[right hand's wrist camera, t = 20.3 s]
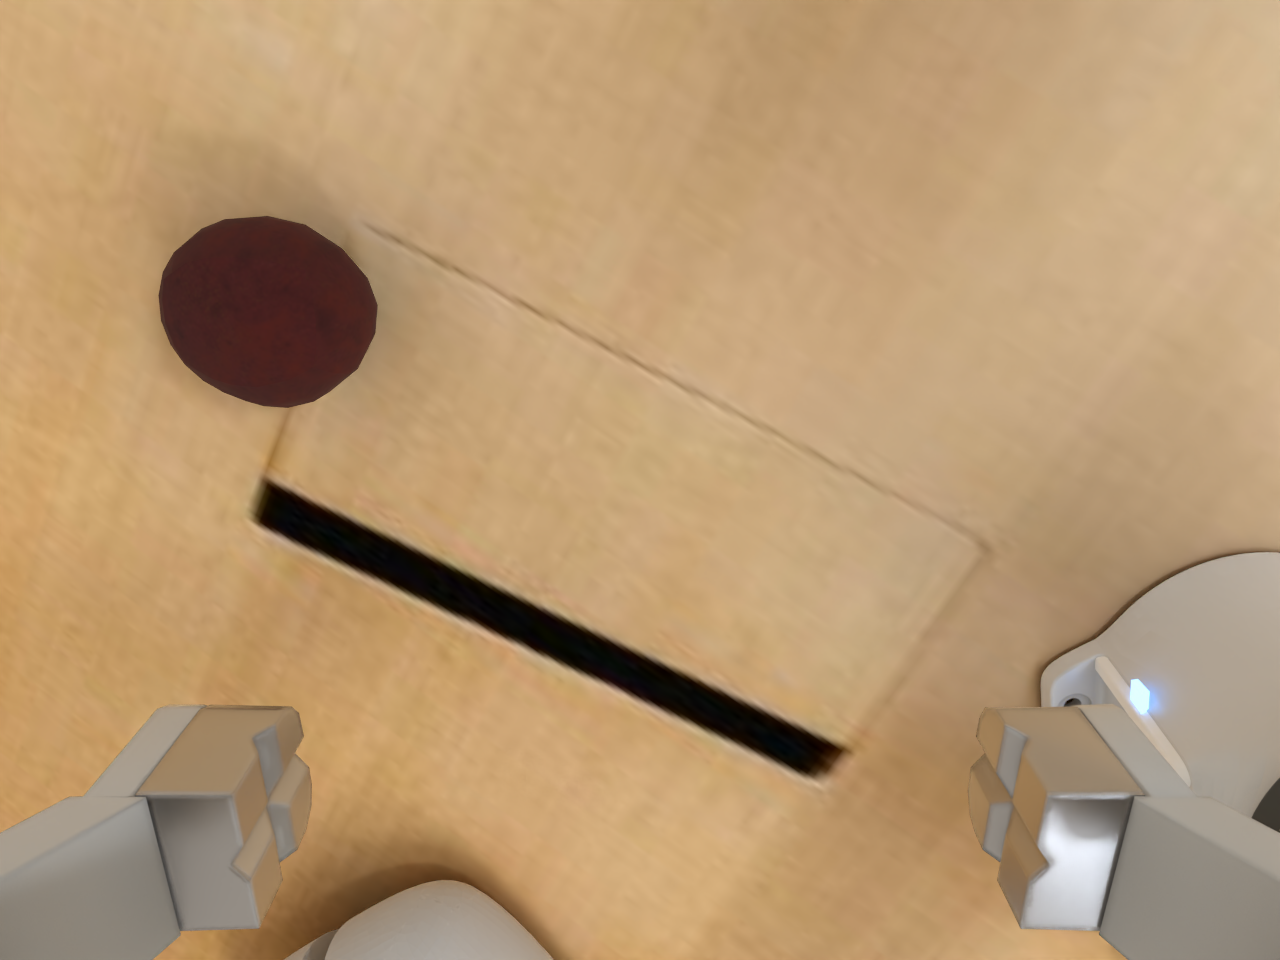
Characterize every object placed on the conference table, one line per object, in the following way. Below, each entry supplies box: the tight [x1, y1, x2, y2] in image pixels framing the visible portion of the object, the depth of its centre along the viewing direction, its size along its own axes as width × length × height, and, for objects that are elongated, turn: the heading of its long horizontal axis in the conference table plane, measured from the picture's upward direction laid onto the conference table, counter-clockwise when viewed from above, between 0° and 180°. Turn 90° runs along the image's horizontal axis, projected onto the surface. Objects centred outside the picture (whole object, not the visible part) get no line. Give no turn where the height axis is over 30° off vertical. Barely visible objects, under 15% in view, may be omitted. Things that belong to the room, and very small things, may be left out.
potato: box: [159, 216, 377, 408], centre depth 35 cm, size 7×8×7 cm
